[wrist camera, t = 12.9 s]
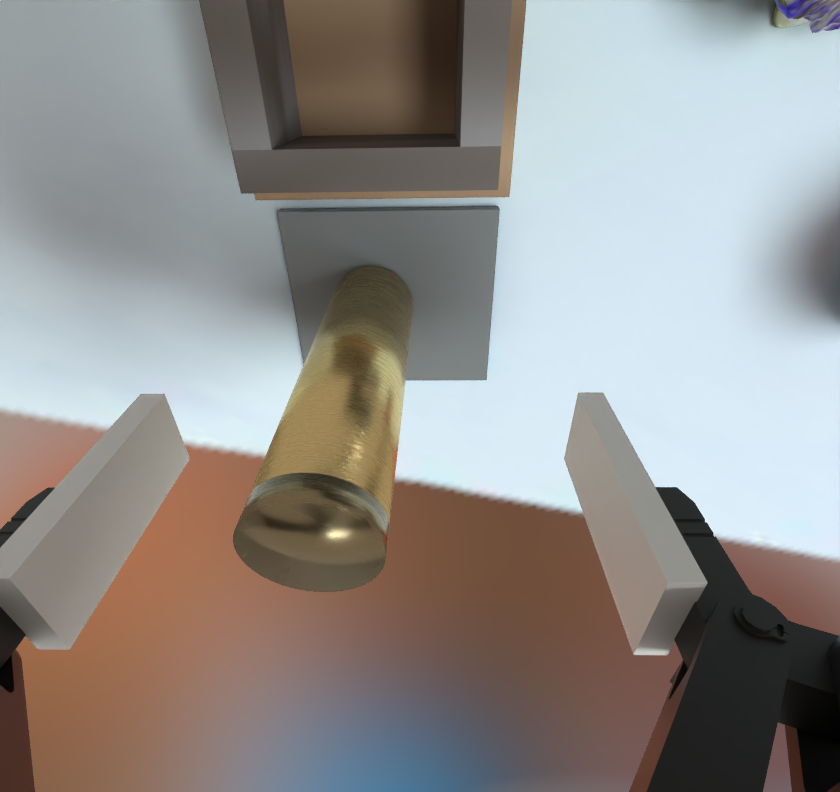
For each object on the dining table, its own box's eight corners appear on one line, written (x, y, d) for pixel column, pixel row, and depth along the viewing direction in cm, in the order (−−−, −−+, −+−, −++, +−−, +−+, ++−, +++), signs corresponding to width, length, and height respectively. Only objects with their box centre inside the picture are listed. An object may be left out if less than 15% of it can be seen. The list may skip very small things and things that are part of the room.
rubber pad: (280, 209, 21) (276, 212, 21) (497, 206, 21) (499, 209, 21) (309, 375, 27) (307, 380, 26) (485, 374, 26) (486, 380, 26)
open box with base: (218, -144, 15) (90, -280, 9) (524, -154, 15) (584, -298, 9) (276, 185, 21) (217, 226, 15) (499, 182, 21) (526, 223, 15)
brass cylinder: (336, 336, 24) (247, 587, 14) (331, 263, 22) (218, 498, 11) (411, 341, 24) (384, 596, 14) (415, 269, 22) (386, 510, 11)
